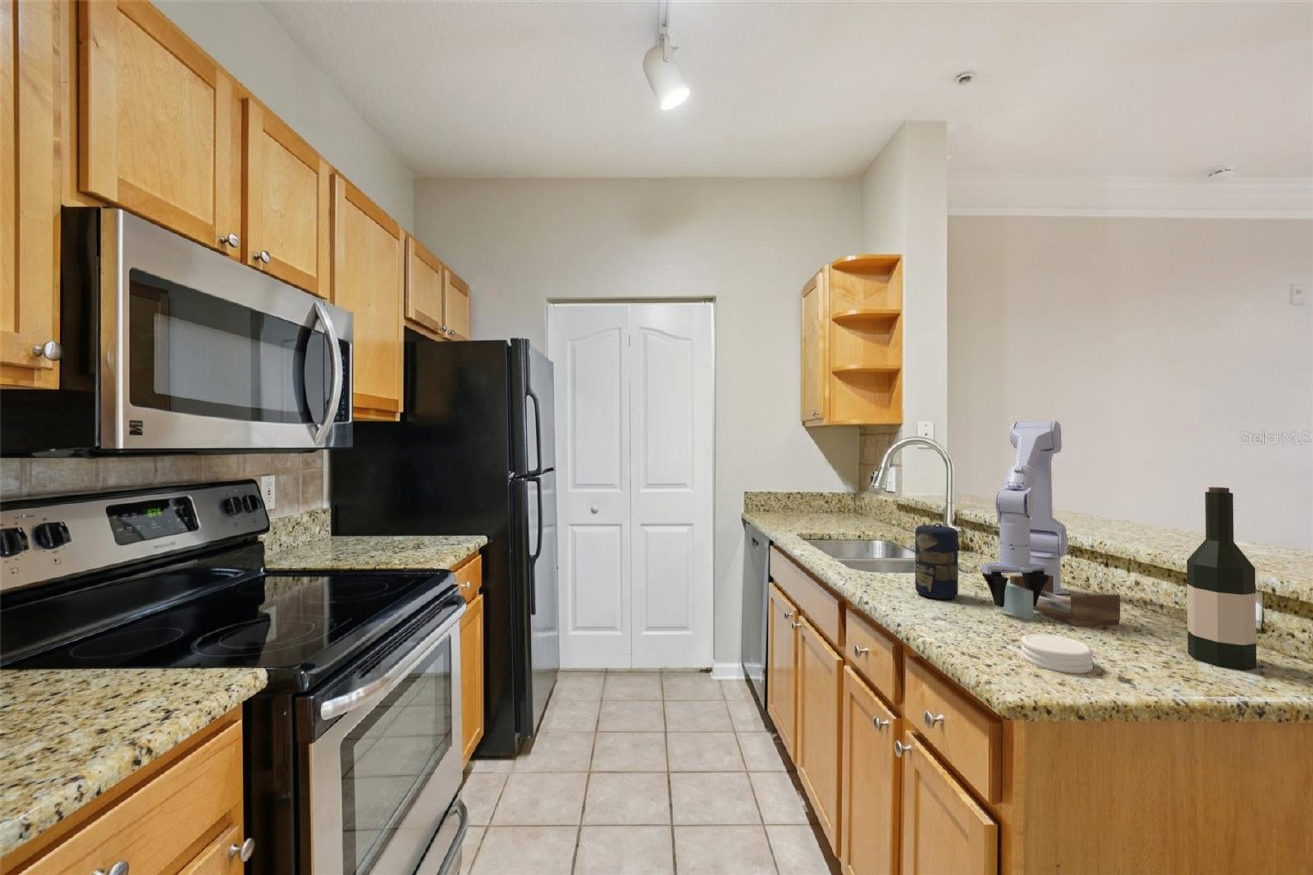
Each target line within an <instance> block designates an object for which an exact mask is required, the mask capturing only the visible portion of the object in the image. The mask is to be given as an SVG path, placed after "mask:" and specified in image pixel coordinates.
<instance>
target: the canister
mask: <svg viewBox="0 0 1313 875" xmlns="http://www.w3.org/2000/svg"><path fill="white" fill-rule="evenodd" d="M914 542H915V546H914V550H915V551H914V564H915V565H914V581H915V582H914V585H915V587H914V588H915V591H916V592H917V593H918V594H920V595H922V596H925V597H929V598H935V599H953V598H955V597H957V596H958V595H959V532H958V530H957V529H956V528H953V527H951V526H944V525H942V524H941V523H939V522H936V523H934V524H933V525H932V524H931V525H930V524H927V525H925V524H924V525H923V524H922V525H919V526H917V527H916V528H915V537H914Z"/></svg>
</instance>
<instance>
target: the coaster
mask: <svg viewBox="0 0 1313 875" xmlns="http://www.w3.org/2000/svg"><path fill="white" fill-rule="evenodd" d="M1020 641H1021V646H1020V648H1021V656H1022V658H1023V659H1024V660H1025V661H1026V662H1028V663H1029V664H1031V665H1034V666H1036V667H1039V668H1041V669H1042V668H1043V669H1046V670H1048V671H1049V670H1050V671H1053V672H1060V673H1067V674H1086V673H1090V672H1091V671H1092V670H1093V669H1094V666H1093V662H1094V660H1093V655H1094V652H1093V650H1092V648H1091V647H1090V646H1089V645H1087V644H1085V643H1084V642H1081V641H1078V640H1076V639H1072V638H1068V637H1065V636H1061V635H1053V634H1047V633H1028V634H1025V635H1024V636H1022V637H1021V639H1020Z"/></svg>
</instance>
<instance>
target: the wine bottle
mask: <svg viewBox="0 0 1313 875" xmlns="http://www.w3.org/2000/svg"><path fill="white" fill-rule="evenodd" d="M1204 493H1205V494H1204V497H1205V498H1204V499H1205V500H1204V501H1205V503H1204V505H1205V506H1204V507H1205V516H1204V517H1205V539H1204V540H1203V542H1202V543H1201V544H1200V545H1199V546H1198V547H1197V548H1196V549H1195V550H1194V552H1193V553H1192V554H1191V555H1190V556H1189V557H1188V558H1187V559H1186V594H1187V595H1186V599H1187V600H1186V603H1187V604H1186V608H1187V609H1186V611H1187V618H1186V619H1187V620H1186V621H1187V622H1186V623H1187V654H1188V655H1189V656H1190V657H1191V658H1192V659H1194V661H1198V662H1201V663H1203V664H1208V665H1211V664H1212V666H1214V665H1215V666H1214V667H1217V668H1226V669H1231V668H1232V669H1231V670H1238V669H1239V670H1240V671H1249V670H1255V669H1257V668H1258V667H1257V665H1258V664H1257V663H1258V662H1257V661H1258V660H1257V604H1256V603H1257V598H1256V597H1257V596H1256V595H1257V594H1256V593H1257V592H1256V586H1257V585H1256V567H1255V566H1254V565H1253V564H1252V562H1251V561H1250V560H1249V559H1248V557H1247V556H1246V555H1245V554H1244V552H1243V551H1242V550H1241V549H1240V548H1239V547H1238V545H1237V544H1236V542H1235V540H1234V538H1235V536H1234V535H1235V534H1234V526H1235V524H1234V493H1233V492H1230V488H1229V487H1219V486H1218V487H1217V486H1215V487H1214V486H1209V487H1208V491H1205V492H1204Z"/></svg>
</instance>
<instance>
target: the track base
mask: <svg viewBox="0 0 1313 875" xmlns="http://www.w3.org/2000/svg"><path fill="white" fill-rule="evenodd" d="M1009 578H1010V579H1009V583H1011V584H1013V585H1016V586H1019V587H1022V588H1025V584H1024V579H1023V576H1022V575H1020V576H1017V575H1010V576H1009ZM1033 611H1036V612H1039V613H1040V614H1043V615H1046V616H1049V617H1052V618H1054V619H1056V620H1059V621H1062V622H1064V623H1066V624H1068V625H1071V626H1074V627H1081V626H1112V625H1113V626H1114V625H1118V626H1119V625H1120V621H1121V596H1120V595H1118V594H1111V593H1110V594H1108V593H1107V594H1077V595H1076V594H1075V595H1074V594H1073V595H1070V598H1067V597H1065V596H1064V597H1063V596H1061V595H1059V594H1053V576H1051V575H1049V580H1048V581H1047V582H1046V584H1045V585H1044V587H1043V588H1042V590H1041V593H1040V595H1039V598H1038V601H1037V605H1036V606H1033Z"/></svg>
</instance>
